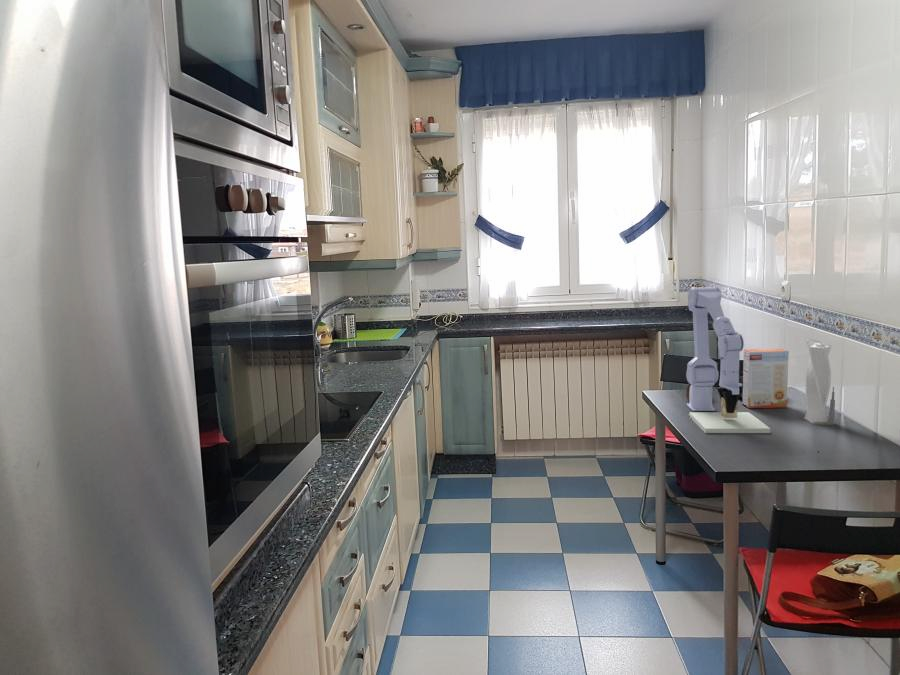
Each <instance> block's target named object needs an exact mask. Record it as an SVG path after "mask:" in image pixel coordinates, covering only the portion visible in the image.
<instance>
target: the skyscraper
mask: <svg viewBox="0 0 900 675" xmlns="http://www.w3.org/2000/svg"><path fill="white" fill-rule="evenodd" d="M809 342H814V343H813V345H811V344H810V343H809ZM806 343H807V347H808V352H809V358H808V363H807V366H806V371H805V380H804V381H805V382H804V385H805V387H804V388H805V399H806V405H807V410H806V413H805V415H804V418H803V419H804V420H805V421H807V422H808V423H811V424H812V425H813V426H814V425H817V426H819V425H824V426H825V425H836V423H835V414H836V413H835V411H836V410H835V408H836V399H835V386H832V391H831V399H830V401H829V402H830V403H829V412H828V418H827V415H826V411H825V408H826V406H827V402H828V398H829V394H830V390H831V382H832V372H831V364H830V358H829V355H830V352H831V349H832V344H829V343H826V342H821V341H819V340H816V339H807V340H806Z"/></svg>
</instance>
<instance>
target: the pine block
mask: <svg viewBox="0 0 900 675" xmlns="http://www.w3.org/2000/svg"><path fill="white" fill-rule="evenodd" d="M738 401H739V400H738ZM738 401H737V404H736V407H735V411H734V413H727V411H726V403H725V398H724V397H722V398H721V399H720V402H721V403H720V412H721V415H722V416H723V417H724V418H737V412H738V404H739V403H738Z"/></svg>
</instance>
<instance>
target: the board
mask: <svg viewBox="0 0 900 675" xmlns="http://www.w3.org/2000/svg"><path fill="white" fill-rule="evenodd" d="M688 416H690V417H689V418H690V419H691V418H692V419H691V420H692V421H693V422H694V423H695V424H696V426H698V428H699V429H701V431H703V433H704V434H771V428H770V427H769V426H767V425H766V424H765V423H764V422H762V421H761V420H760V419H759V418H757V417H756V416H754V415H753V414H752V413H750V412H748V411H747V412H746V411H745V412H744V411H743V412H742V411H741V412H740V411H737V418H724V417H723V416H722V415H721V411H720V412H719V411H718V412H717V411H692V412H689V413H688Z"/></svg>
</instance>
